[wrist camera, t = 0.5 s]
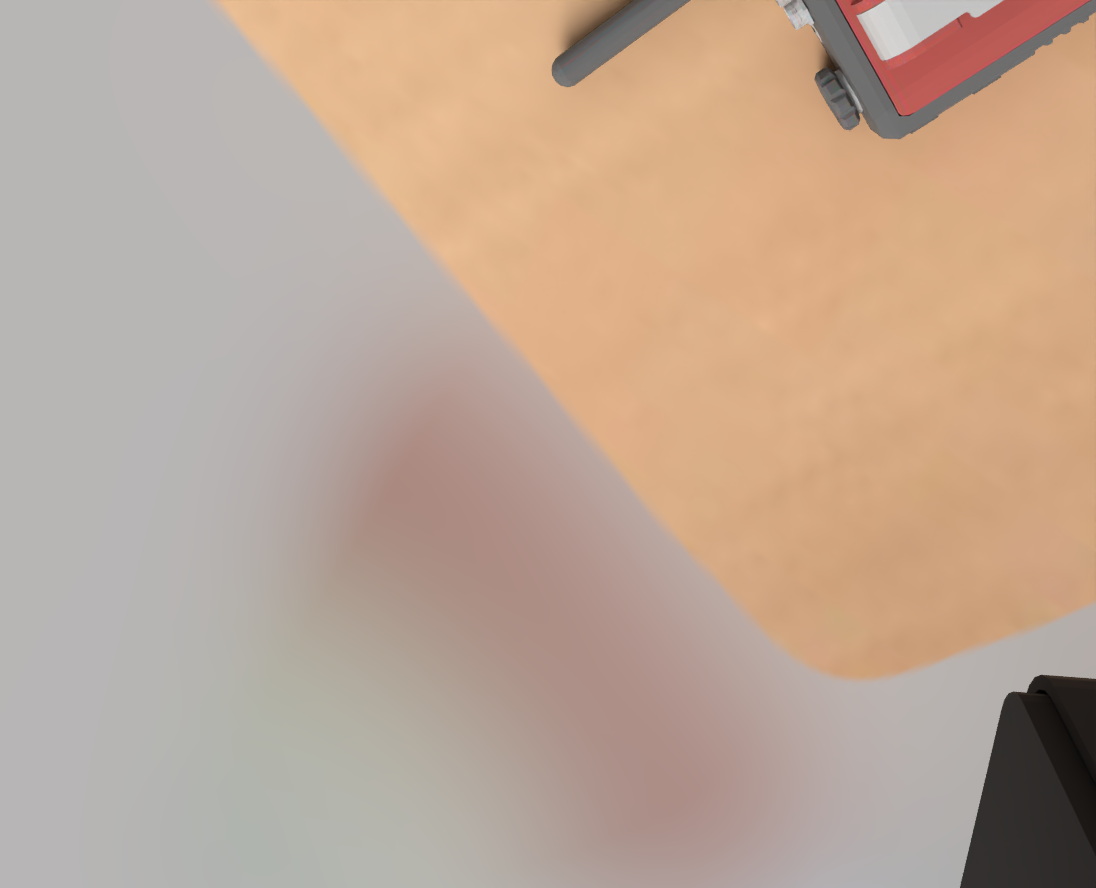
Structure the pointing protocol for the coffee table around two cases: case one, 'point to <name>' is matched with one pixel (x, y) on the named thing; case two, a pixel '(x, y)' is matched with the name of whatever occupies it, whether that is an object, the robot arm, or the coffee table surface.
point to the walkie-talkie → (878, 50)
